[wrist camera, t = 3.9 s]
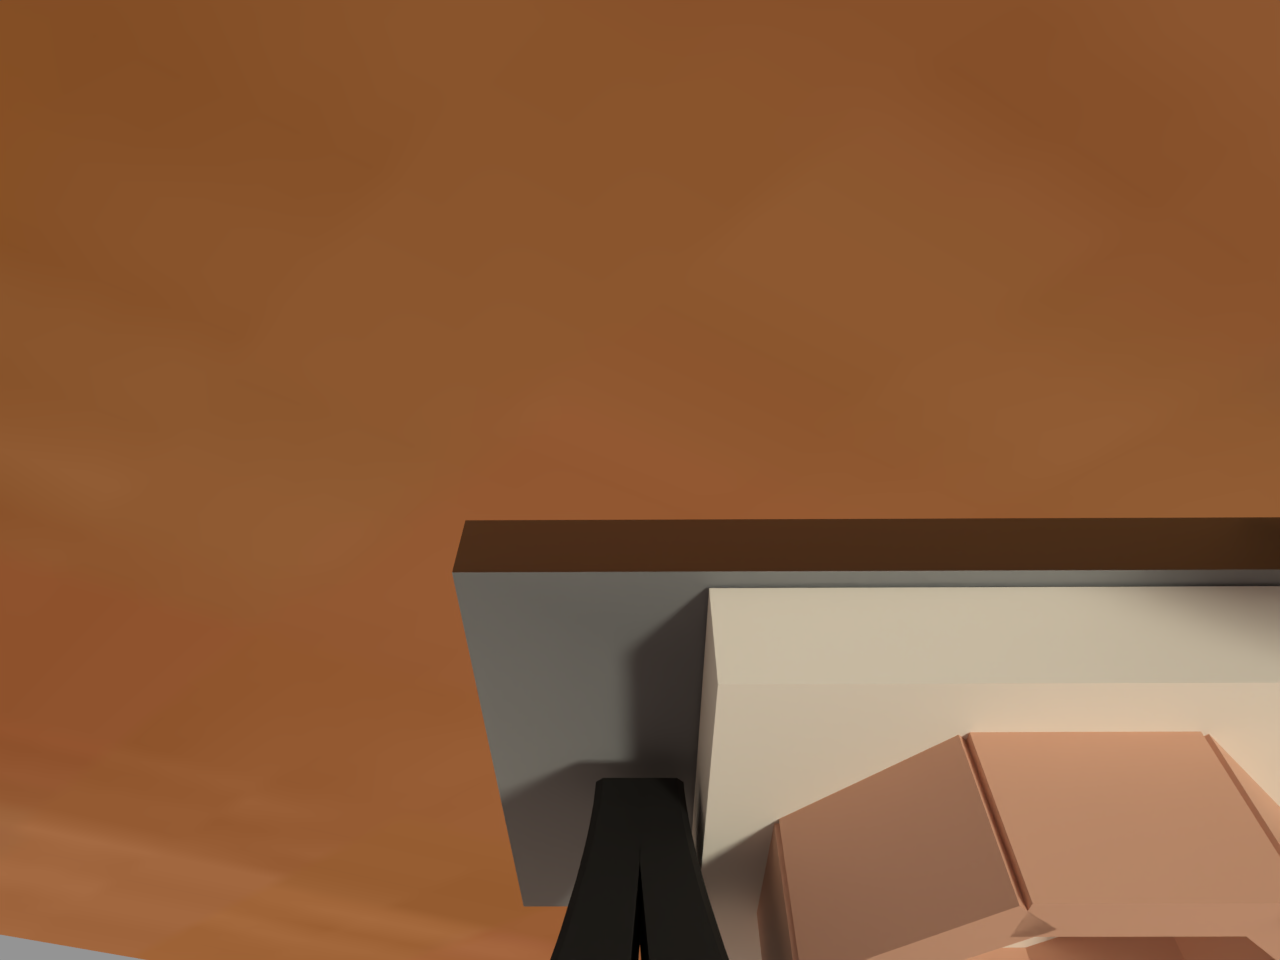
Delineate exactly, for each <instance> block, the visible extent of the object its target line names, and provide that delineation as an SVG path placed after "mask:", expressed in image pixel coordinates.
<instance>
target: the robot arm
mask: <svg viewBox="0 0 1280 960" xmlns="http://www.w3.org/2000/svg"><path fill="white" fill-rule="evenodd" d="M639 948H640V953H641V960H729V958H728V955H727V952H726V949H725V946H724V943H723V940H722V937H721V934H720V931H719V928H718V925H717V922H716V919H715V916H714V913H713V909H712V906H711V903H710V900H709V897H708V893H707V890H706V887H705V883H704V880H703V876H702V872H701V868H700V865H699V861H698V857H697V853H696V849H695V845H694V841H693V836H692V832H691V827H690V822H689V817H688V811H687V805H686V799H685V791H684V782H683V781H681V780H680V779H678V778H602V779H600V780H598V781H597V782H596V786H595V794H594V802H593V808H592V814H591V819H590V825H589V830H588V834H587V839H586V843H585V847H584V851H583V855H582V859H581V863H580V866H579V870H578V874H577V878H576V881H575V884H574V888H573V891H572V894H571V897H570V901H569V904H568V907H567V910H566V914H565V917H564V920H563V923H562V927H561V930H560V933H559V936H558V939H557V942H556V945H555V947H554V950H553V953H552V956H551V958H550V960H639Z"/></svg>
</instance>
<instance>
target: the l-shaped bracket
mask: <svg viewBox="0 0 1280 960" xmlns="http://www.w3.org/2000/svg"><path fill="white" fill-rule="evenodd" d="M452 575H453V579H454V584H455V589H456V593H457V598H458V603H459V607H460V612H461V617H462V621H463V626H464V631H465V635H466V640H467V645H468V649H469V654H470V659H471V663H472V668H473V673H474V677H475V682H476V687H477V691H478V696H479V701H480V705H481V710H482V715H483V719H484V724H485V729H486V733H487V738H488V743H489V747H490V752H491V757H492V761H493V766H494V771H495V775H496V780H497V785H498V789H499V794H500V798H501V803H502V808H503V812H504V817H505V822H506V826H507V831H508V836H509V840H510V845H511V850H512V854H513V859H514V864H515V868H516V873H517V878H518V882H519V887H520V892H521V896H522V901H523V906H568V904H569V901H570V897H571V894H572V891H573V888H574V884H575V881H576V878H577V874H578V870H579V866H580V863H581V859H582V855H583V851H584V847H585V843H586V839H587V834H588V830H589V825H590V819H591V814H592V808H593V802H594V794H595V786H596V782H597V781H598V780H600V779H602V778H678V779H680V780H681V781H683V782H684V791H685V799H686V805H687V811H688V817H689V822H690V827H691V832H692V824H693V810H694V796H695V782H696V767H697V753H698V739H699V725H700V711H701V697H702V682H703V668H704V654H705V640H706V626H707V611H708V597H709V588H891V587H1179V586H1280V517H1213V518H946V519H679V520H465V524H464V528H463V532H462V536H461V539H460V543H459V547H458V551H457V555H456V559H455V563H454V567H453V571H452Z"/></svg>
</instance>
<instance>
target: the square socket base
mask: <svg viewBox="0 0 1280 960" xmlns="http://www.w3.org/2000/svg"><path fill="white" fill-rule="evenodd" d="M692 836H693V841H694V845H695V849H696V853H697V857H698V861H699V865H700V868H701V872H702V876H703V880H704V883H705V887H706V890H707V893H708V897H709V900H710V903H711V906H712V909H713V913H714V916H715V919H716V922H717V925H718V928H719V931H720V934H721V937H722V940H723V943H724V946H725V949H726V952H727V955H728V958H729V960H1280V586H1179V587H891V588H709V597H708V611H707V626H706V640H705V654H704V668H703V682H702V697H701V711H700V725H699V739H698V753H697V767H696V782H695V796H694V810H693V824H692Z"/></svg>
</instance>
